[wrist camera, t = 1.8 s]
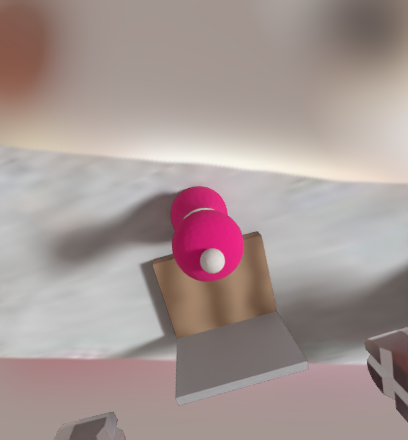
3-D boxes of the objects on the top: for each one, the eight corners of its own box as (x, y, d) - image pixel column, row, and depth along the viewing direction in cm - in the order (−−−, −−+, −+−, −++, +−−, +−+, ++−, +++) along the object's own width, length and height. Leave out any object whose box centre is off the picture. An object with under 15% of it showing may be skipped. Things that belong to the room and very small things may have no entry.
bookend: (257, 231, 38) (289, 263, 27) (273, 310, 42) (308, 369, 30) (153, 259, 38) (141, 304, 27) (179, 336, 42) (178, 405, 30)
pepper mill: (184, 240, 38) (187, 327, 18) (163, 195, 36) (141, 241, 17) (229, 220, 38) (279, 288, 18) (210, 174, 36) (243, 196, 16)
